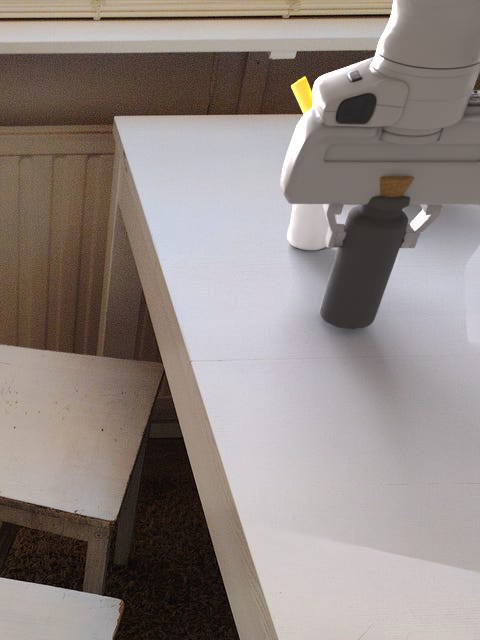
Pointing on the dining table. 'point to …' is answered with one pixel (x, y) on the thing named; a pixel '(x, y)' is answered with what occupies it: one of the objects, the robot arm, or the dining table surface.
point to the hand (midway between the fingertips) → (368, 245)
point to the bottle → (367, 256)
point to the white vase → (308, 226)
